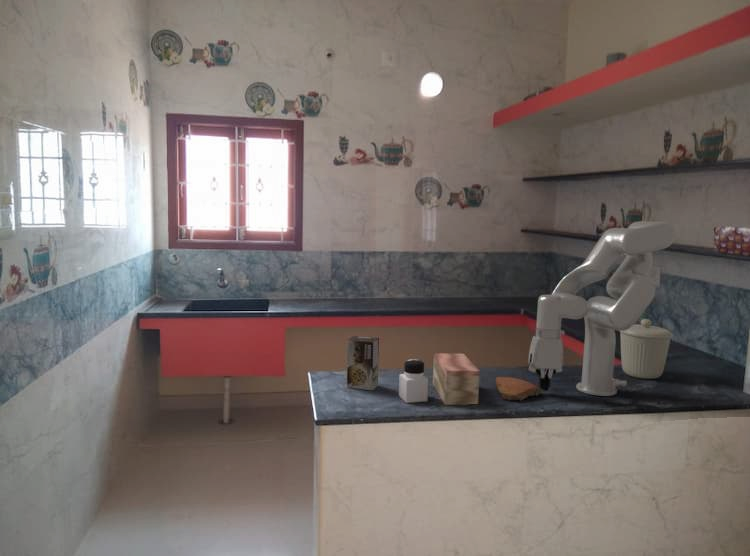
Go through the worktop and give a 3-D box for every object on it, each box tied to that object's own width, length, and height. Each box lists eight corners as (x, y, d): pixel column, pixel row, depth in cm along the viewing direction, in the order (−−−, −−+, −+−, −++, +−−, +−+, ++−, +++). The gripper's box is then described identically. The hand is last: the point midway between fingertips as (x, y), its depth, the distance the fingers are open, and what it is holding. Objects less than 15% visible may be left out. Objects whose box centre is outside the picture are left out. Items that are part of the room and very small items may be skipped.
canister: (635, 383, 201) (640, 324, 198) (605, 369, 218) (609, 314, 216) (680, 381, 205) (686, 323, 202) (646, 367, 222) (651, 314, 220)
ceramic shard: (478, 378, 184) (501, 375, 195) (478, 398, 183) (501, 395, 195) (520, 381, 174) (542, 379, 185) (520, 403, 174) (542, 399, 185)
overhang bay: (461, 383, 194) (463, 353, 192) (477, 404, 173) (479, 371, 172) (432, 383, 193) (434, 353, 192) (445, 404, 172) (446, 370, 171)
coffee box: (378, 385, 189) (380, 337, 187) (372, 391, 183) (374, 341, 181) (352, 382, 192) (353, 335, 190) (345, 387, 186) (347, 339, 184)
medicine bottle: (428, 401, 174) (429, 363, 173) (405, 403, 172) (407, 364, 171) (419, 394, 181) (421, 357, 180) (398, 395, 179) (399, 358, 178)
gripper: (565, 331, 187) (561, 386, 189) (521, 330, 186) (517, 385, 188) (575, 336, 180) (571, 393, 182) (529, 335, 179) (525, 392, 181)
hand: (543, 389), depth 185 cm, fingers closed
